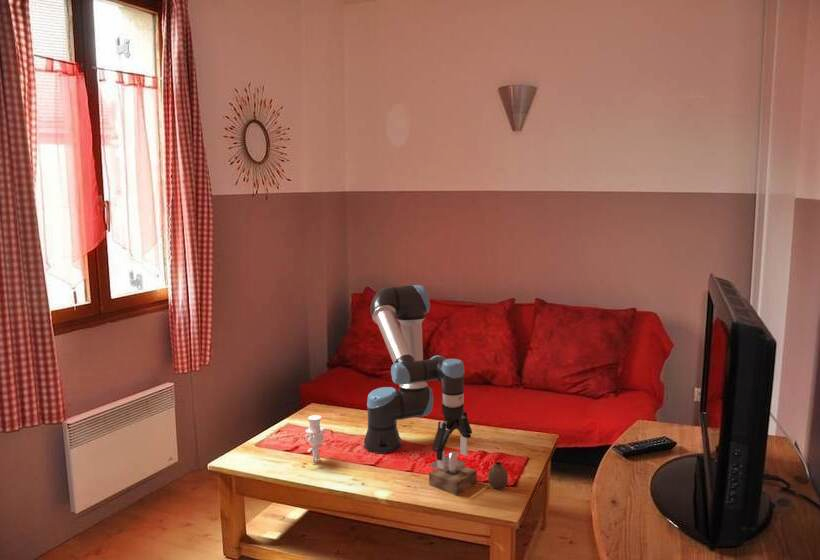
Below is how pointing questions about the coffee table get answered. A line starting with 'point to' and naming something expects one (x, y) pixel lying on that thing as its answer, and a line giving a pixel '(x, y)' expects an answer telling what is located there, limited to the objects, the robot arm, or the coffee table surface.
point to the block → (453, 479)
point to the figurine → (315, 435)
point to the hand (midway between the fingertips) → (452, 461)
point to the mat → (446, 462)
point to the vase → (498, 476)
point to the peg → (453, 463)
